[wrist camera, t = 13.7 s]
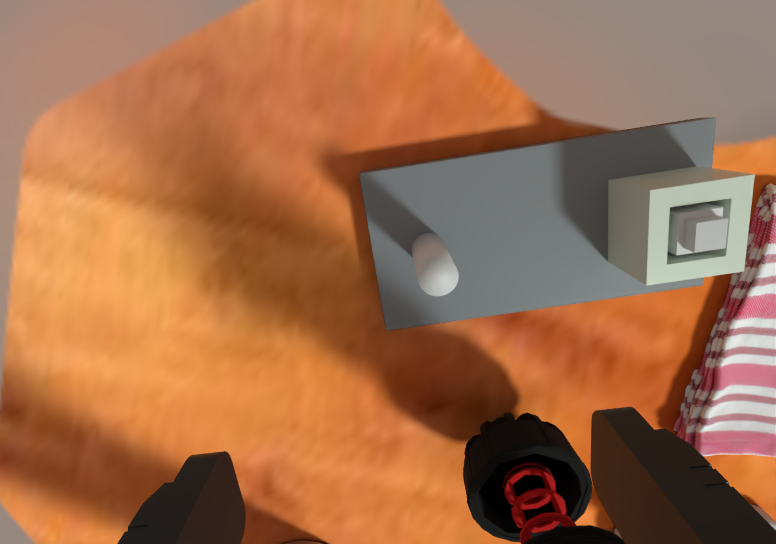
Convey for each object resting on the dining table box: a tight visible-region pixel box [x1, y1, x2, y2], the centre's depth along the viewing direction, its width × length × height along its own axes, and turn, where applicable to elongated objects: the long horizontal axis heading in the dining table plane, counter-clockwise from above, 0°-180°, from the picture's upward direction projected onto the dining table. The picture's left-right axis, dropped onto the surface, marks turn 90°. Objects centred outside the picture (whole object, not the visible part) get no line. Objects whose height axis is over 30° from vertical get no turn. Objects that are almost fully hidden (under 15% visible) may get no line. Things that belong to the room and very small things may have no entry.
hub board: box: [359, 118, 728, 331], centre depth 29 cm, size 24×12×8 cm, turn 99°
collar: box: [608, 166, 755, 286], centre depth 29 cm, size 6×6×5 cm
